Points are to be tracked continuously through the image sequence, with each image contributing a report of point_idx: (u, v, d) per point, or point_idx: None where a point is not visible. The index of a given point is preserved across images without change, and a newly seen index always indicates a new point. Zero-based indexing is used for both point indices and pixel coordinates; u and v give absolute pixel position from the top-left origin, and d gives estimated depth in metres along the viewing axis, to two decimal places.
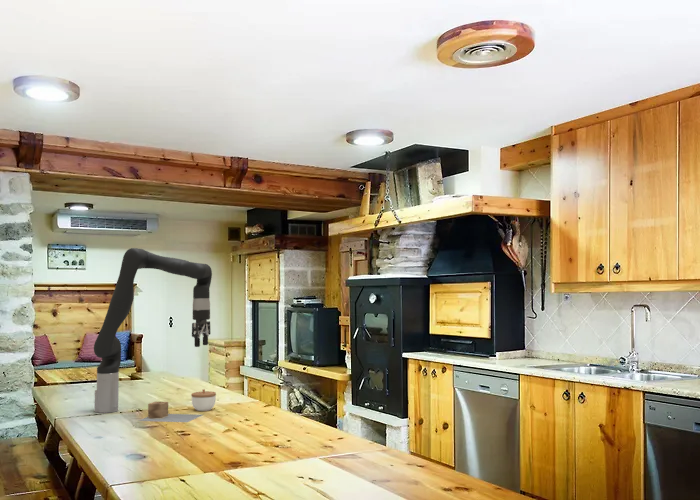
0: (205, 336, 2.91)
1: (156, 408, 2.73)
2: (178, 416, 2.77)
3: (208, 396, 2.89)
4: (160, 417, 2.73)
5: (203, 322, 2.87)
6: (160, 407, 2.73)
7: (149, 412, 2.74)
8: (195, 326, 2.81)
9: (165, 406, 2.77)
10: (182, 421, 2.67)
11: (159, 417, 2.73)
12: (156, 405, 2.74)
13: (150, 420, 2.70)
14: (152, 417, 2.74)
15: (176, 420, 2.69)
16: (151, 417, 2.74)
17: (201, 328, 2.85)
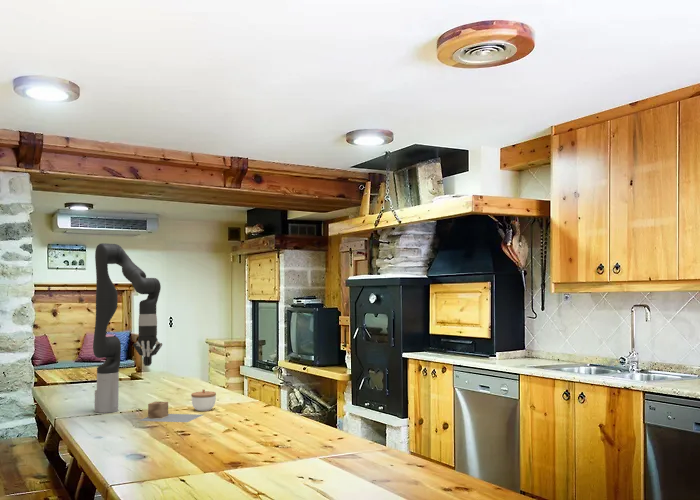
0: None
1: (156, 408, 2.73)
2: (178, 416, 2.77)
3: (208, 396, 2.89)
4: (160, 417, 2.73)
5: None
6: (160, 407, 2.73)
7: (149, 412, 2.74)
8: (159, 347, 2.78)
9: (165, 406, 2.77)
10: (182, 421, 2.67)
11: (159, 417, 2.73)
12: (156, 405, 2.74)
13: (150, 420, 2.70)
14: (152, 417, 2.74)
15: (176, 420, 2.69)
16: (151, 417, 2.74)
17: None
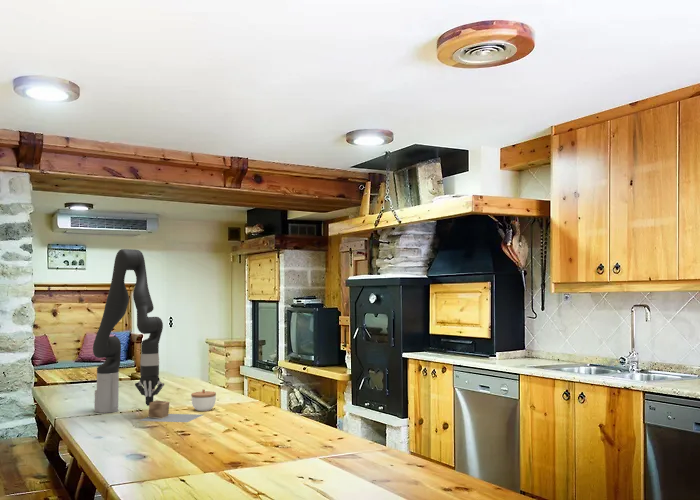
0: None
1: (157, 408, 2.73)
2: (178, 416, 2.77)
3: (208, 396, 2.89)
4: (160, 417, 2.73)
5: None
6: (161, 407, 2.73)
7: (150, 411, 2.74)
8: (161, 387, 2.77)
9: (166, 406, 2.76)
10: (182, 421, 2.67)
11: (159, 417, 2.73)
12: (157, 405, 2.73)
13: (150, 420, 2.70)
14: (152, 416, 2.74)
15: (176, 420, 2.69)
16: (151, 416, 2.74)
17: None
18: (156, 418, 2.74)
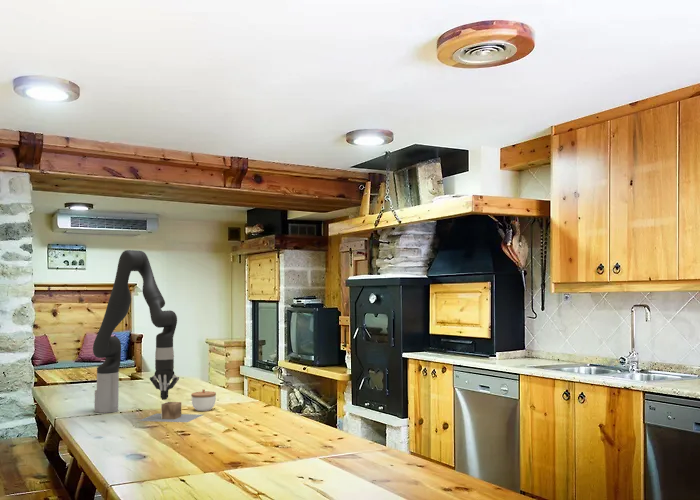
0: None
1: (170, 413, 2.72)
2: None
3: (208, 396, 2.89)
4: (162, 417, 2.73)
5: None
6: (171, 418, 2.72)
7: (167, 405, 2.73)
8: (176, 381, 2.76)
9: None
10: (182, 421, 2.67)
11: (162, 416, 2.73)
12: (173, 413, 2.72)
13: (150, 420, 2.70)
14: (162, 409, 2.73)
15: (176, 420, 2.69)
16: (162, 408, 2.73)
17: None
18: (156, 418, 2.74)
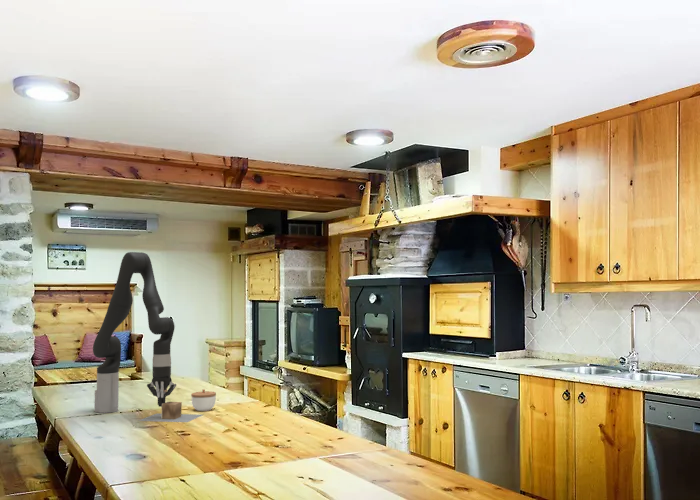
0: None
1: (170, 413, 2.72)
2: None
3: (208, 396, 2.89)
4: (162, 417, 2.73)
5: None
6: (171, 418, 2.72)
7: (167, 405, 2.73)
8: (173, 388, 2.76)
9: None
10: (182, 421, 2.67)
11: (162, 416, 2.73)
12: (173, 413, 2.72)
13: (150, 420, 2.70)
14: (162, 408, 2.73)
15: (176, 420, 2.69)
16: (162, 407, 2.73)
17: None
18: (156, 418, 2.74)
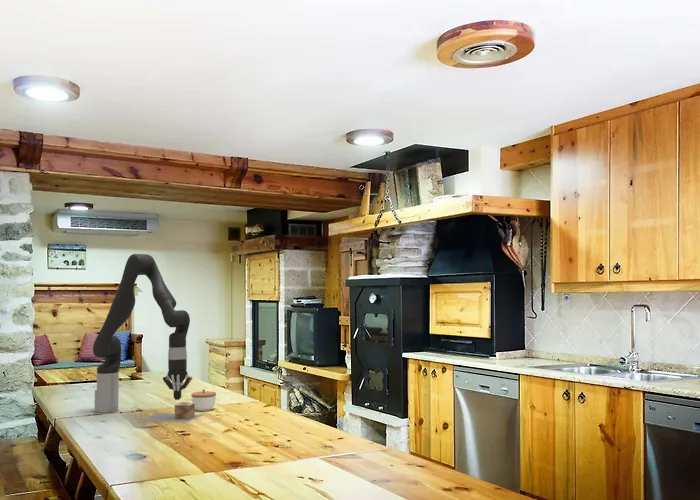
0: None
1: (179, 415, 2.71)
2: None
3: (208, 396, 2.89)
4: (175, 405, 2.72)
5: None
6: (175, 416, 2.72)
7: (186, 411, 2.71)
8: (189, 381, 2.75)
9: None
10: (182, 421, 2.67)
11: (176, 406, 2.72)
12: (179, 418, 2.71)
13: (150, 420, 2.70)
14: (183, 405, 2.71)
15: (176, 420, 2.69)
16: (184, 405, 2.71)
17: None
18: (156, 418, 2.74)
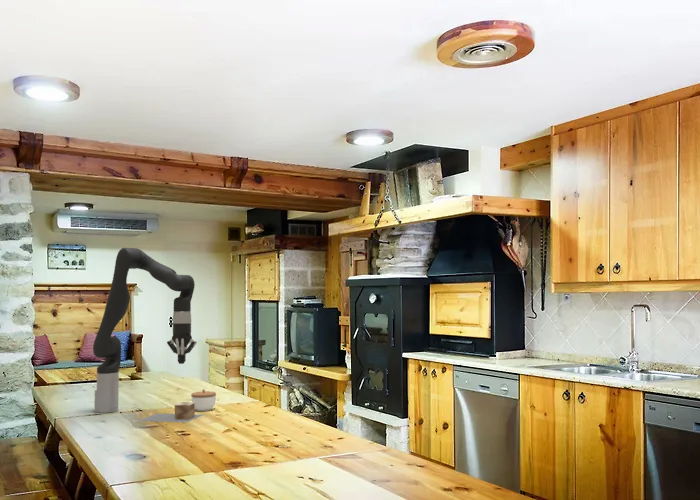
0: None
1: (179, 415, 2.71)
2: None
3: (208, 396, 2.89)
4: (175, 405, 2.72)
5: None
6: (175, 416, 2.72)
7: (186, 411, 2.71)
8: (194, 345, 2.75)
9: None
10: (182, 421, 2.67)
11: (176, 406, 2.72)
12: (179, 418, 2.71)
13: (150, 420, 2.70)
14: (183, 405, 2.71)
15: (176, 420, 2.69)
16: (184, 405, 2.71)
17: None
18: (156, 418, 2.74)
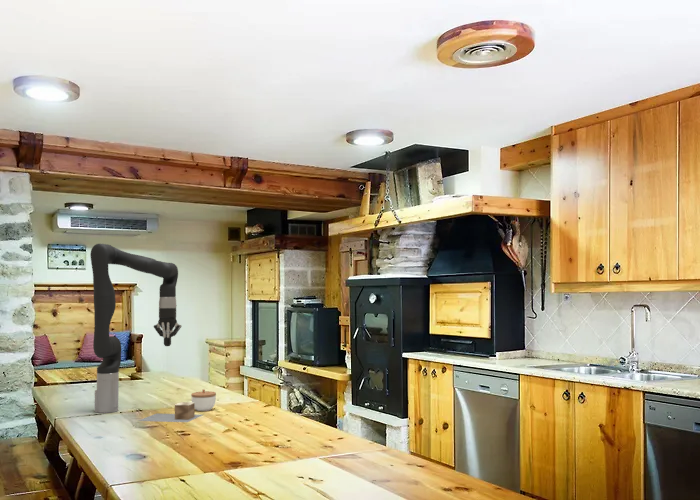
0: None
1: (179, 415, 2.71)
2: None
3: (208, 396, 2.89)
4: (175, 405, 2.72)
5: None
6: (175, 416, 2.72)
7: (186, 411, 2.71)
8: (179, 328, 2.92)
9: None
10: (182, 421, 2.67)
11: (176, 406, 2.72)
12: (179, 418, 2.71)
13: (150, 420, 2.70)
14: (183, 405, 2.71)
15: (176, 420, 2.69)
16: (184, 405, 2.71)
17: (172, 327, 2.94)
18: (156, 418, 2.74)
